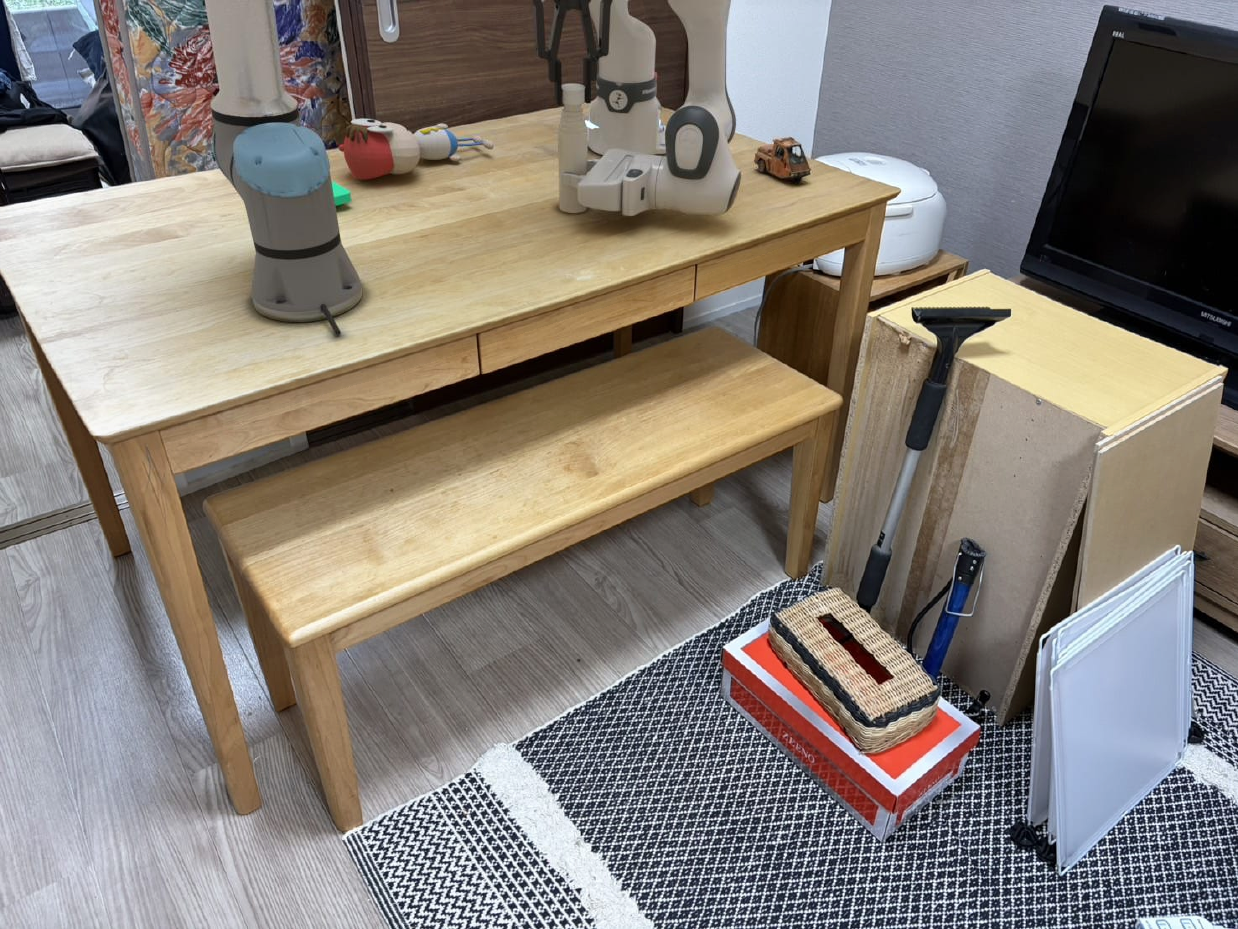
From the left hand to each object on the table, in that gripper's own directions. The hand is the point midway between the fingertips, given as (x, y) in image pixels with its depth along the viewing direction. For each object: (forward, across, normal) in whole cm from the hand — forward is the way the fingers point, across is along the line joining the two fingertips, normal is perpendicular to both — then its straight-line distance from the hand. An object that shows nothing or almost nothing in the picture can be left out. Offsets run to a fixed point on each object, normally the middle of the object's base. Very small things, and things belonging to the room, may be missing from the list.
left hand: (572, 101), depth 154 cm
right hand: (+12, -1, 0) cm, 12 cm away
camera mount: (+18, -44, +9) cm, 49 cm away
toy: (+18, -26, +26) cm, 41 cm away
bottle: (+18, 0, 0) cm, 18 cm away
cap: (-2, 0, 0) cm, 2 cm away
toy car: (+18, +43, +10) cm, 48 cm away
